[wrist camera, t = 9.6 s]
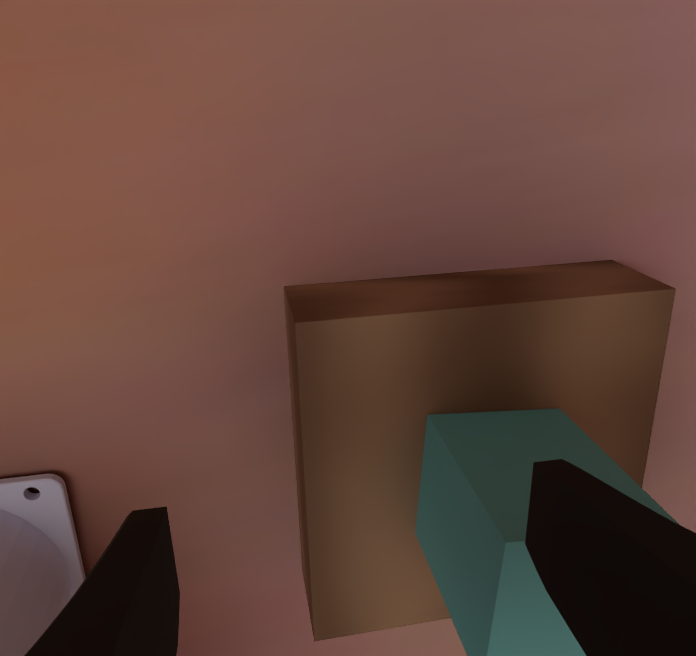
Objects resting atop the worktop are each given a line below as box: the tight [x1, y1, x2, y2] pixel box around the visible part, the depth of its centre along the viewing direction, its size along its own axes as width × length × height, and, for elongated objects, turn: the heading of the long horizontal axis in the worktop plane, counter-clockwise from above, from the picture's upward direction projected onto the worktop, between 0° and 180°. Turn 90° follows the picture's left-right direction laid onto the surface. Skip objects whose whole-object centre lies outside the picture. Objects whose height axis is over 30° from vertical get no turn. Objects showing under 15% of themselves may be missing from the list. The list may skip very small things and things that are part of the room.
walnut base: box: [284, 260, 675, 641], centre depth 23 cm, size 12×12×4 cm
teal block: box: [415, 408, 678, 656], centre depth 18 cm, size 4×4×6 cm
